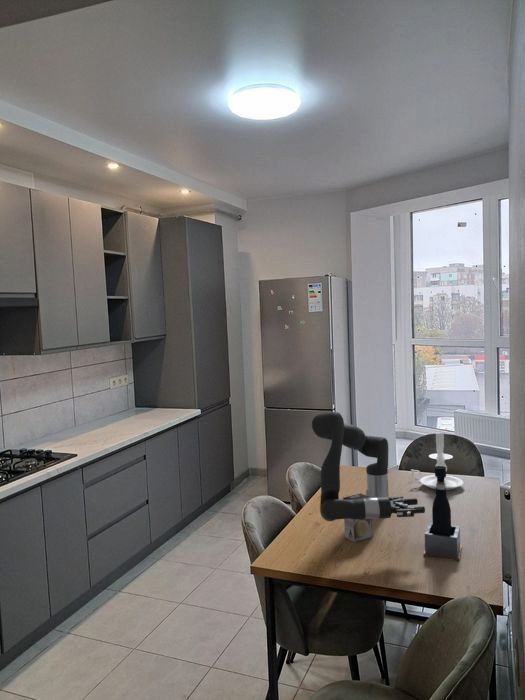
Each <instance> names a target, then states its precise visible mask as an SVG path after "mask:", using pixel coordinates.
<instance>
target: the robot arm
mask: <svg viewBox="0 0 525 700" xmlns="http://www.w3.org/2000/svg"><path fill="white" fill-rule="evenodd" d="M311 428H312V430H313V432H314V434H315V435H316V436H317V437H319V438H320V439H325V440H329V441H331V444H330V447H329V450H328V453H327V455H326V457H325V458H324V460H323V463H322V465H321V469H320V501H319V502H320V504H319V509H320V510H319V514H320V515H321V518H322V519H323V520H325V521H327V522H334V521H337V520H344V519H348V518H350V519H372V520H378V519H390V518H391V517H392V514H396V518H412V517H413V518H414V517H415V514H425V513H426V507H425V506H423V505H422V506H417V505H418V504H419V503H418V499H417V498H416V497H413V498H412V497H411V498H407V497H404V496H403V495H402V496H401V495H400V496H391V497H390V496H389V492H390V491H389V476H388V475H389V470H388V469H389V441H388V440H387V438H386V437H384V436H383V437H382V436H373V435H366V434H365V432H364V430H362V429H361V428H360V427H358V426H357V425H353V424H351V423H345V422H344V417H343V416H342V414H341V413H340V412H337V411H333V412H332V411H331V412H324V413H320V414H319V413H318V414H317V415H315V416H314V417H313V419H312V421H311ZM343 447H345V448H346V447H347V448H348V449H351V450H355V451H357V452H359V453H361V454H362V455H364V456H365V457H368V458H373V459H377V460H376V462H374V463H369V465H367V466H366V469H365V470H366V471H365V472H366V490H365V495H366V496H369V498H363V499H351V500H343V498H342V499H340V498H339V494H340V490H341V474H340V473H341V470H340V469H341V457H342V451H343Z"/></svg>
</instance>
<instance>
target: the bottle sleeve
mask: <svg viewBox="0 0 525 700" xmlns="http://www.w3.org/2000/svg"><path fill="white" fill-rule="evenodd" d="M462 549H463V544H461V526H460V525H452V524H451V536H449V535H441V534H433V522H428V524H427V526H426V529H425V532H424V551H423V553H422V555H423V557H426V558H427V557H428V558H433V559H442V560H450V561H455V562H460V558H461V555H462Z"/></svg>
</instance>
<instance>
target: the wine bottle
mask: <svg viewBox="0 0 525 700" xmlns="http://www.w3.org/2000/svg"><path fill="white" fill-rule="evenodd" d="M434 475H435V477H437V483H436V487H437V488H436V489H435V497H434V499H433V502H432V507H431V508H432V509H431V512H432V514H431V516H432V520H431V521H432V523H433V534H441V535H449V536H451V525H452V512H451V511H452V510H451V506H450V502H449V499H448V497H447V495H448V493H447V490H446V487H445V486H446V485H445V483H444V482H445V481H444V478H445V477H446V475H447V471H446V467H443V466H436V467H434Z"/></svg>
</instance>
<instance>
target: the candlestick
mask: <svg viewBox="0 0 525 700" xmlns="http://www.w3.org/2000/svg"><path fill="white" fill-rule="evenodd" d="M444 434H445V432H435V443H436V444H435V447H436V452H437V453H436V452H435V453H431V454H429V455H428V457H429V459H434V460H436V464H435V465H434V466H435V467H436V466H443V467H446V472H447V470H448V466H447V464H446V463H445V462H446V460H450V459H451V460H452V459H453V458H454V456H453V455H451V454H448V453H444V447H445V440H444V439H445V435H444ZM435 467H434V468H435ZM410 471H411V476H412V478H413V479H414V480H415V482H416V483H417V484H422V485H425V486H426V487H427V488H430V489H432V490H436V488H437V487H436V483H437V477H435V474H432V475H426V476H423V477H422V472H421V471H420V470H418V469H410ZM416 472H417V473H418V474H419V476H418V477H415V476H414V474H415V473H416ZM418 480H419V481H418ZM444 481H445V482H444V483H445V485H446V486H445V487H446V491H451V490H454V489H457V488H459V487H462V486H463V485H464V483H465V482H464V480H462V479H461V478H459V477H456V476H452V475H447V474H446V477H445V478H444Z"/></svg>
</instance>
